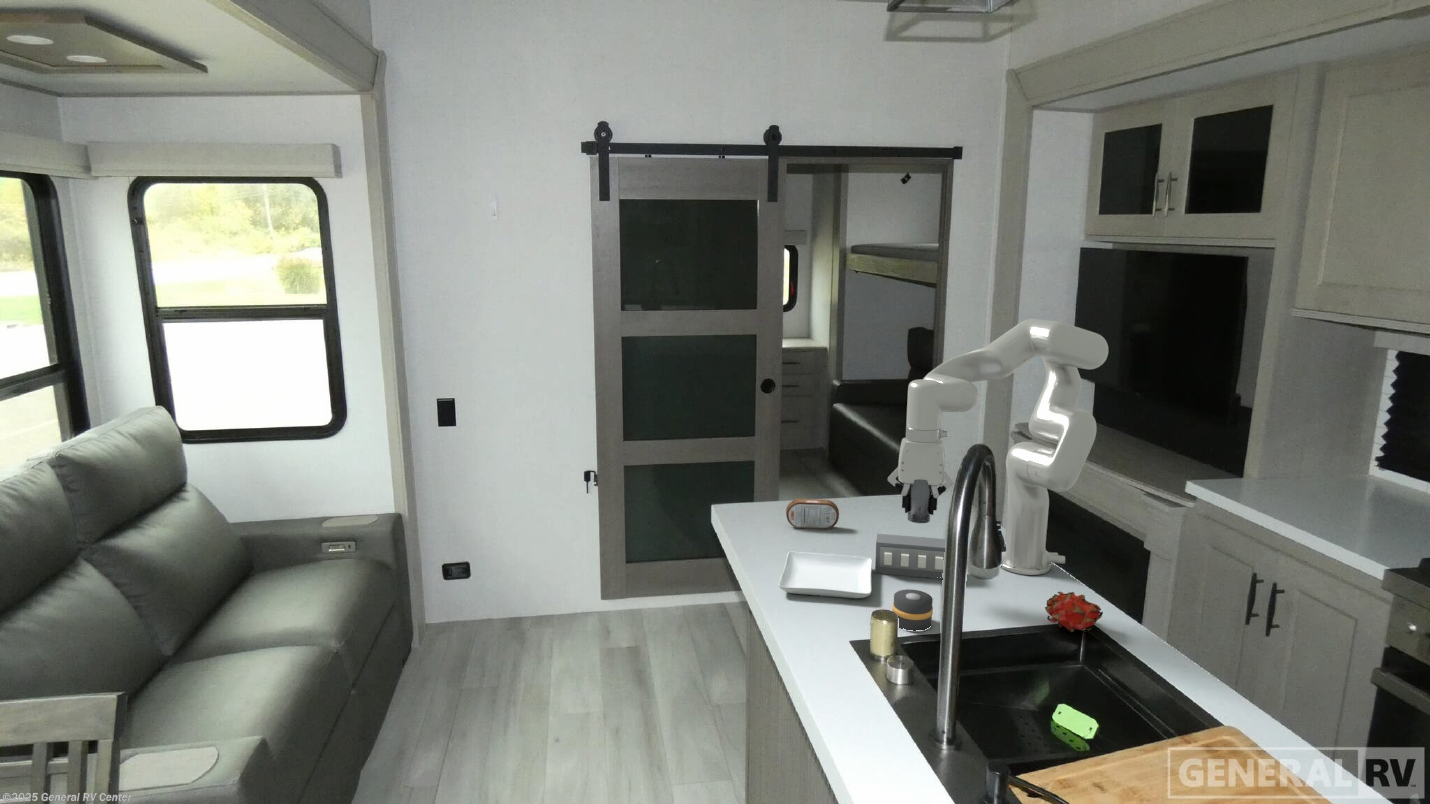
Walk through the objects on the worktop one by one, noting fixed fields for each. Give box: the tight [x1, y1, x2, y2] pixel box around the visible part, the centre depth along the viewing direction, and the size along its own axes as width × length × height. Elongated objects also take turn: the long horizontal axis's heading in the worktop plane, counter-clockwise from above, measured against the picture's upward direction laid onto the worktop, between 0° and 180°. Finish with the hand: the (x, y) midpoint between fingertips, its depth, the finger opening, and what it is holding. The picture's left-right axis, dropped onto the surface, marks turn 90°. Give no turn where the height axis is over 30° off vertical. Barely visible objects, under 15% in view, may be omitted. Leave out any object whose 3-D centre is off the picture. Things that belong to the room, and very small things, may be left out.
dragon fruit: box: [1044, 591, 1104, 633], centre depth 169 cm, size 8×8×12 cm
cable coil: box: [892, 588, 934, 631], centre depth 171 cm, size 8×8×6 cm
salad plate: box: [778, 551, 873, 599], centre depth 193 cm, size 21×21×3 cm
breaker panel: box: [874, 533, 946, 580], centre depth 197 cm, size 18×8×8 cm, turn 76°
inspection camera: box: [906, 480, 932, 524], centre depth 183 cm, size 5×5×10 cm
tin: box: [785, 498, 840, 530], centre depth 228 cm, size 15×3×8 cm, turn 84°
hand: (918, 511), depth 184 cm, fingers closed on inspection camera, 5 cm apart
